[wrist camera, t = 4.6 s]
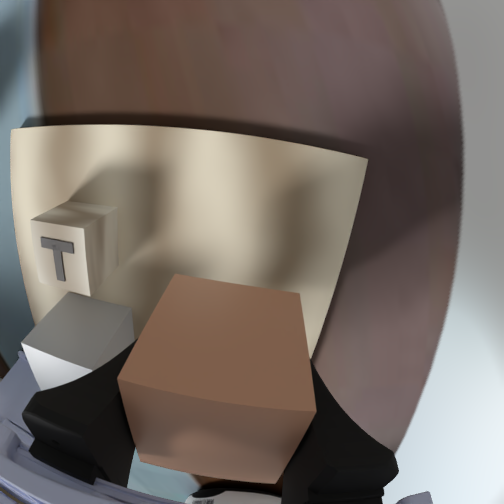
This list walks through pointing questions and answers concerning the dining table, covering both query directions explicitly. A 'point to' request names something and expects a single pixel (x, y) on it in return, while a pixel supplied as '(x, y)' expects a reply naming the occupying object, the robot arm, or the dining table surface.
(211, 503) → the milk container
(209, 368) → the terracotta cover
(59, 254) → the letter cube
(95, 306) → the grey cover
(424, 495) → the robot arm
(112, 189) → the birch board
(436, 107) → the dining table surface
